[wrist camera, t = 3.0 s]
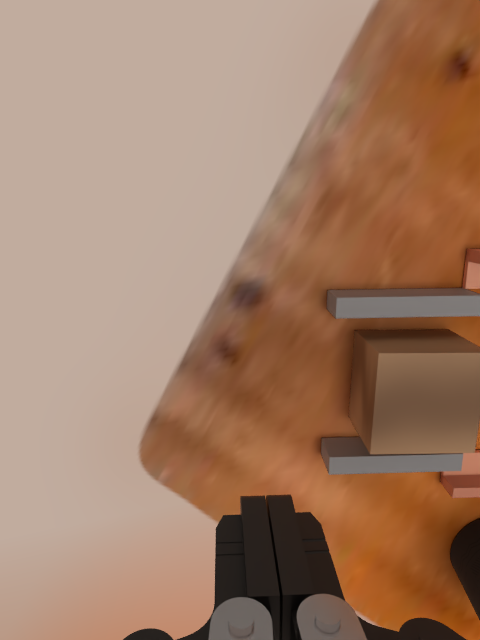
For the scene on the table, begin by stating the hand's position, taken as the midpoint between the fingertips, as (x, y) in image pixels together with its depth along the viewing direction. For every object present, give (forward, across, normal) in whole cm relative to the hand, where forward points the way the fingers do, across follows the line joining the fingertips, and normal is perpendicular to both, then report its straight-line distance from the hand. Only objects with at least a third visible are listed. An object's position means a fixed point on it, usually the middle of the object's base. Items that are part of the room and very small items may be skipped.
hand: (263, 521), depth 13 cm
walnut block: (+11, -8, 0) cm, 14 cm away
